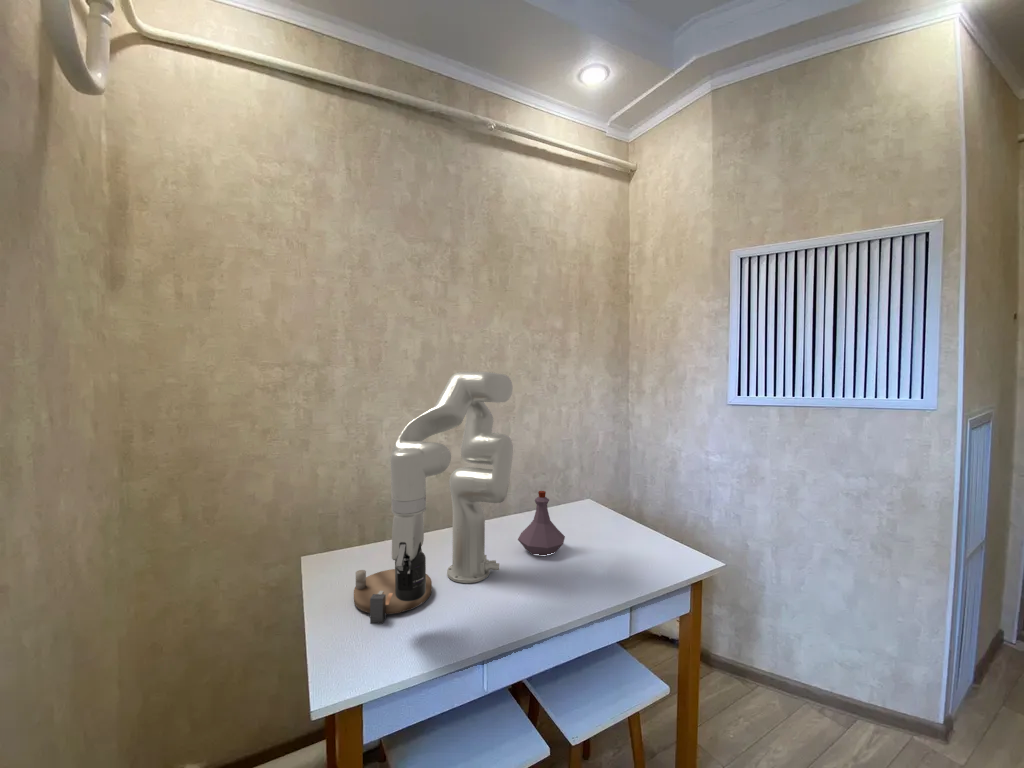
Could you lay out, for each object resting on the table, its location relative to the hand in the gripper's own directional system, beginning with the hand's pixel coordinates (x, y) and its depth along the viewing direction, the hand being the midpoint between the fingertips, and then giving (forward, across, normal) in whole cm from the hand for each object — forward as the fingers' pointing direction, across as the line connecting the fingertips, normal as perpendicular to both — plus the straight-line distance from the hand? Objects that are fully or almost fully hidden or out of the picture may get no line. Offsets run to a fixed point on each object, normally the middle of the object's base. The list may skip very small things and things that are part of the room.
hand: (410, 580), depth 97 cm
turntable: (+13, -16, -9) cm, 22 cm away
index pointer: (+13, -4, -9) cm, 16 cm away
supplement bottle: (+3, 0, 0) cm, 3 cm away
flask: (+15, -48, +31) cm, 58 cm away
